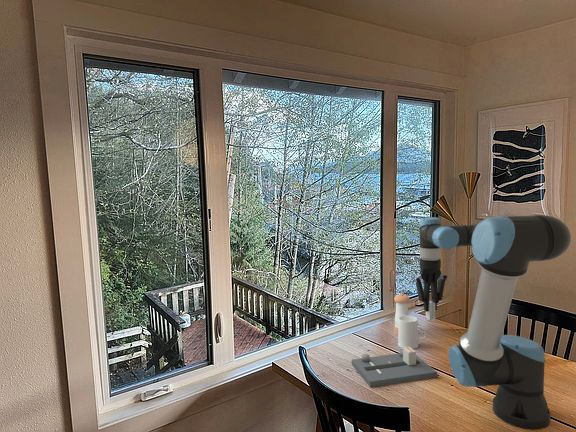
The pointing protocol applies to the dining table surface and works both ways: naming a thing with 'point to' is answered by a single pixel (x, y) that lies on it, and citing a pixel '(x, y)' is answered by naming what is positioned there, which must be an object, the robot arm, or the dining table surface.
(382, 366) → the console board
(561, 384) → the dining table surface
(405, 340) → the mug
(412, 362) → the fader tab
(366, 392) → the dining table surface
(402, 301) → the pepper shaker
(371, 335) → the dining table surface
